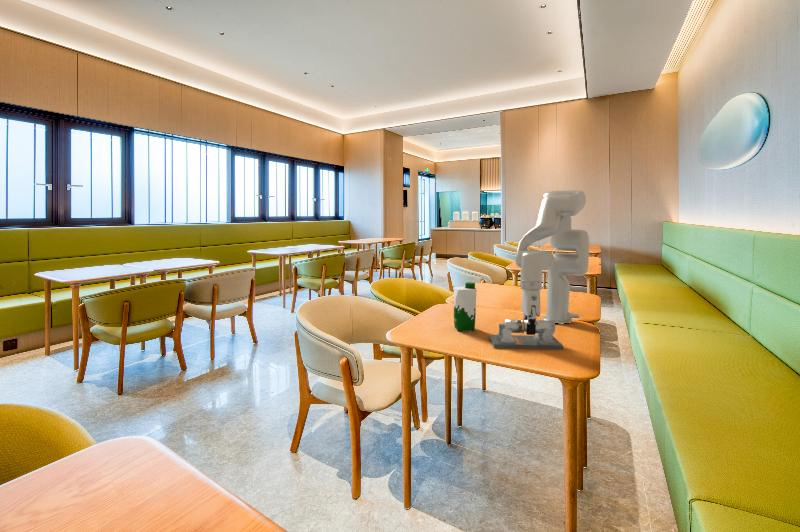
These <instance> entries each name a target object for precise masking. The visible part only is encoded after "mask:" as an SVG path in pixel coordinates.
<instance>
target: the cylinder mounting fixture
mask: <svg viewBox="0 0 800 532" xmlns="http://www.w3.org/2000/svg"><path fill="white" fill-rule="evenodd" d="M503 324H504V323H498V333H497V334H489V335H488V339H489V341H490V343H491V345H492V347H493V349H511V350H512V349H514V350H515V349H517V350H519V349H520V350H554V351H556V350H559V351H561V350H564V345H563V344H562V343H561V342H560V341H559V340H558V338H555V336H553V335H554V334H553V331H552V330H544V333H543V334H537V333H535V335H516V334H514V335H513V334H512V333H511V329H504V328H503Z"/></svg>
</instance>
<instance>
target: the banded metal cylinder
mask: <svg viewBox="0 0 800 532" xmlns="http://www.w3.org/2000/svg"><path fill="white" fill-rule="evenodd" d="M502 324H503V328H504V329H511V334H526V328H527V324H528V320H523V319H506V318H505V319H504V320H503V323H502ZM544 330H552V331H553V335H554V334H555V333H556V324H555V323H554V321H551V320H542V319H540V320H539V319H536V330H535V334H543V333H544Z"/></svg>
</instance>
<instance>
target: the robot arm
mask: <svg viewBox="0 0 800 532" xmlns="http://www.w3.org/2000/svg"><path fill="white" fill-rule="evenodd" d="M586 202H587V197H586V194H585V192H584V191H583V190H580V189H579V190H578V189H573V190H551V191H548V192H545V193H543V195H542V200H541V201H540V205H539V210H538V213H537V218H536V220H535V221H536V222H535V225H534V227H532V228H531V229H529V230H528V231H527V232H526V233H525V234H524V235H523V236H522V237H521V239H520V241H519V242H518V245H517V249H516V253H515V257H514V258H515V265H516V267H518V268H519V269H520V288H519V289H520V290H522V292H521V312H522V313H523V314H522V315H523V317H522V320H528V324H527V328H526V333H525V334H526V336H534V335H535V334H536V333H535V330H536V320H537V317H541V291H542V285H543V283H542V282H543V280H542V279H543V271H546V273H547V286H546V287H547V291H546V312H545V315H544V316H543V317H542V319H543V320H551V321H554V323H560V324H559V325H562V324H561V323H569V322H571V321H572V319H579V318H580V314H578V313H574V312H573V313H572V312H570V311H569V308H570V306H569V303H570V288H571V285H570V282H569V280H568V278H567V277H566V276H567V275H568V276H579V277H580V276H582V277H583V276H585V275H586V274H587V273H588V270H589V261H590V260H589V256H590V236H589V233H588V231H586V230H585V229H572V217H574V216H576V215H578V214H579V213H581V211H583V210H584V208H585V206H586ZM546 238H550V247H551V248H552V250H556V251H565V253H562V252H555V253H552V252H551V251H549V250H548V251H547V250H539V249H538V250H537V249H529V247H530V246H532V245H533V244H534V243H536V242H539V241H541V240H544V239H546ZM566 252H575V253H566ZM542 319H541V320H542ZM571 323H572V322H571Z"/></svg>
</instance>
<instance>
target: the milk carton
mask: <svg viewBox="0 0 800 532" xmlns="http://www.w3.org/2000/svg"><path fill="white" fill-rule="evenodd" d="M476 307H477V289H476V282H472V281H471V282H470V281H469V282H465V285H464V286H463V285H462V286H454V293H453V322H454V323H453V324H454V328H455V329H456V331H458V332H475V329H476V318H477V317H476V310H477V308H476Z"/></svg>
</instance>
